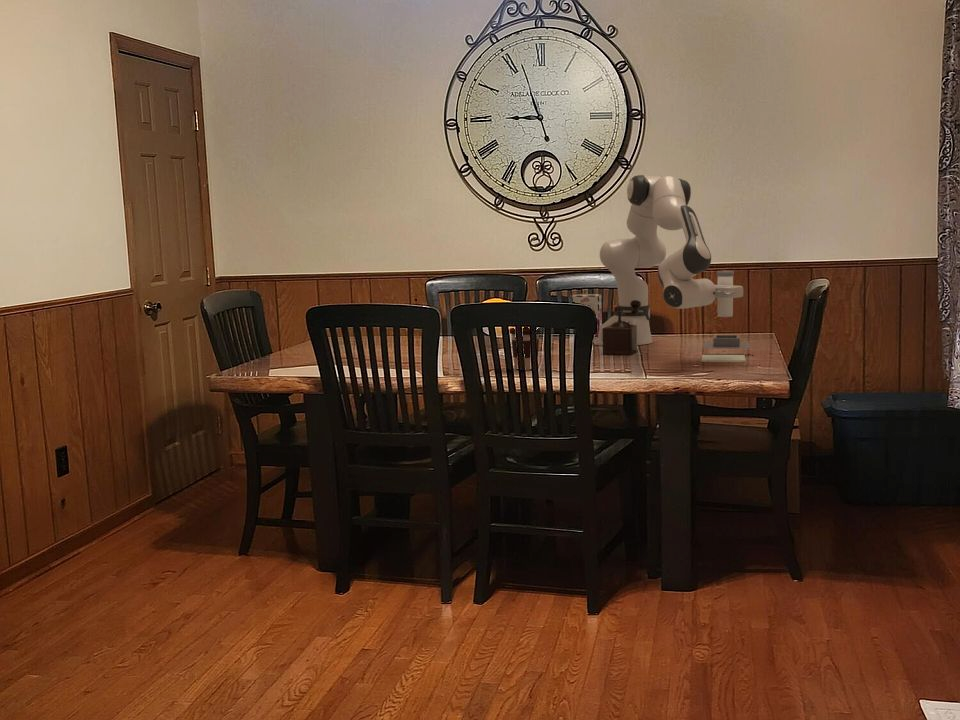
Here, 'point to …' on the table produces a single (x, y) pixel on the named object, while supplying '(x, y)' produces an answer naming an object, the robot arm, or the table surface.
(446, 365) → the table surface
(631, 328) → the pepper mill
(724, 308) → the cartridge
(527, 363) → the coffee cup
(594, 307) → the candy bar box
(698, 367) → the table surface
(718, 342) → the housing
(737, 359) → the pad
